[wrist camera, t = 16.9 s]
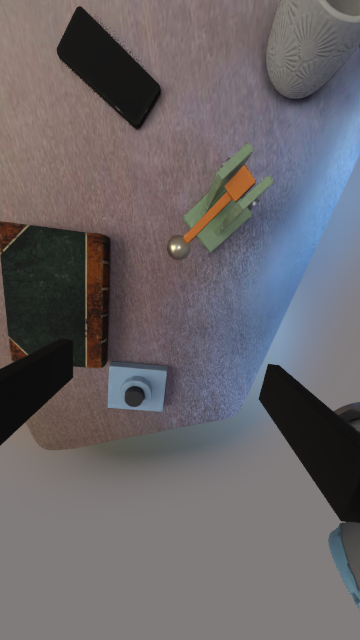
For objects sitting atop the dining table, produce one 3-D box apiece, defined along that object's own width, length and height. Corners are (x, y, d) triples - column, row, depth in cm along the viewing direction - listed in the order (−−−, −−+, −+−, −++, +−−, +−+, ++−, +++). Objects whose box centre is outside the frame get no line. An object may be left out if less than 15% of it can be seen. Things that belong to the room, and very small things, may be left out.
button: (144, 386, 37) (143, 392, 35) (143, 402, 37) (142, 408, 36) (127, 385, 36) (124, 390, 35) (126, 400, 37) (123, 406, 36)
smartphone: (137, 128, 29) (54, 50, 27) (138, 132, 30) (57, 57, 28) (162, 86, 28) (78, 1, 26) (162, 92, 29) (81, 10, 26)
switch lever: (181, 261, 31) (174, 267, 28) (167, 245, 30) (158, 248, 27) (258, 189, 23) (260, 186, 20) (241, 164, 22) (240, 156, 19)
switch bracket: (209, 253, 35) (232, 237, 21) (182, 219, 33) (189, 178, 20) (250, 216, 34) (301, 175, 20) (224, 179, 32) (261, 107, 19)
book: (14, 226, 33) (24, 354, 38) (-5, 220, 29) (9, 361, 34) (112, 238, 34) (108, 361, 39) (105, 234, 30) (102, 369, 35)
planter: (323, 114, 31) (404, 26, 20) (252, 108, 30) (297, 14, 19) (340, 17, 28) (444, -145, 17) (263, 8, 27) (321, -166, 17)
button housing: (167, 366, 40) (166, 375, 36) (162, 405, 42) (161, 417, 38) (112, 361, 39) (105, 370, 35) (110, 401, 41) (104, 413, 37)
